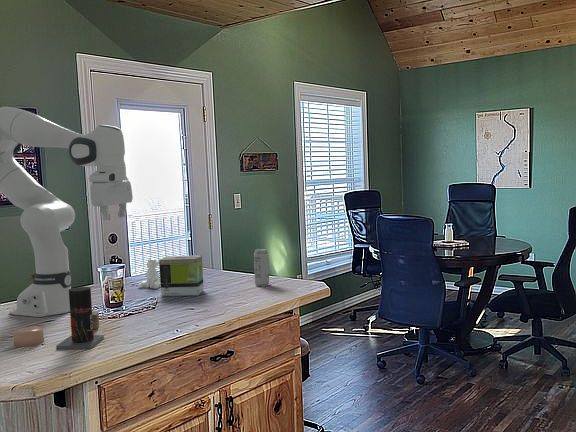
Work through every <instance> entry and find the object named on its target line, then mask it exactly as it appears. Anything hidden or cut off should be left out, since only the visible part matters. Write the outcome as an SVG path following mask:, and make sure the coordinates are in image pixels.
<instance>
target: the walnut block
mask: <svg viewBox="0 0 576 432" xmlns="http://www.w3.org/2000/svg"><path fill="white" fill-rule="evenodd" d="M92 320H93V331H99V328H100V316H99V310H95V311H93V310H92Z"/></svg>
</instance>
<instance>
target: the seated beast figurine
mask: <svg viewBox="0 0 576 432" xmlns="http://www.w3.org/2000/svg"><path fill="white" fill-rule="evenodd" d="M146 266H147V270H146V273H145V276H146V279H145V280H143V281H141V282H139V283H138V284H137V288H138V289H143V288H145V289H146V288H149V287H150V288H151V289H155V290H156V289H159V288H160V286H161V285H160V275H158V274H159V273H158V270H157V268H158V266H159V261H157V259H154V258H149V259H147V263H146ZM150 288H149V289H150Z"/></svg>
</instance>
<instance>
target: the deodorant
mask: <svg viewBox="0 0 576 432" xmlns="http://www.w3.org/2000/svg"><path fill="white" fill-rule="evenodd" d="M91 289H92V288H91V287H90V286H78V287H73V288H72V287H71V289H69V303H70V312H69V316H70V332H71V336H72V342H73V343H85V342H89V341H92V340H93V339H94V336H93V335H94V330H93V320H92V311H93V308H92V307H93V305H92V290H91Z"/></svg>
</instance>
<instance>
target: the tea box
mask: <svg viewBox="0 0 576 432" xmlns="http://www.w3.org/2000/svg"><path fill="white" fill-rule="evenodd" d="M158 262H159V265H158V266H159V279H160V285H159V286H160V295H161V297H174V296H176V297H177V296H180V297H181V296H187V297H188V296H199V295H201V293H203V292H204V273H203V271H204V270H203V256H202V255H197V254H196V255H171V256H169V255H168V256H165V257H163V258H160V259H159V260H158Z"/></svg>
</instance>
